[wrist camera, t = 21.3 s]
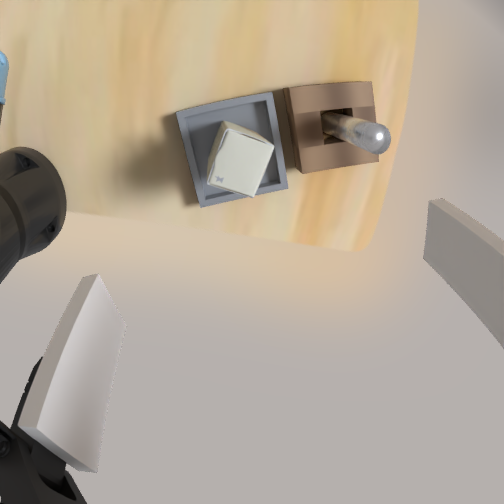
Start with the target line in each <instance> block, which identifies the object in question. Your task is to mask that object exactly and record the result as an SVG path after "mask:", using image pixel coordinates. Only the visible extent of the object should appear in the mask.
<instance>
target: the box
mask: <svg viewBox="0 0 504 504" xmlns="http://www.w3.org/2000/svg"><path fill="white" fill-rule="evenodd" d="M273 150H274V145H273V144H271V143H270V142H269V141H267V140H266V139H265V138H263V137H262V136H261V135H259V134H258V133H257V132H255V131H253V130H250V129H248V128H245V127H242V126H240V125H237V124H234V123H231V122H228V121H225V120H223V121H222V122H221V124H220V127H219V129H218V132H217V134H216V137H215V140H214V142H213V145H212V148H211V151H210V154H209V157H208V168H207V184H208V185H211V186H214V187H217V188H220V189H223V190H227V191H230V192H233V193H237V194H240V195H244V196H247V197H251V198H253V197H254V196H255V194H256V191H257V189H258V187H259V185H260V182H261V180H262V177H263V175H264V173H265V170H266V168H267V165H268V163H269V160H270V157H271V155H272V152H273Z"/></svg>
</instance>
